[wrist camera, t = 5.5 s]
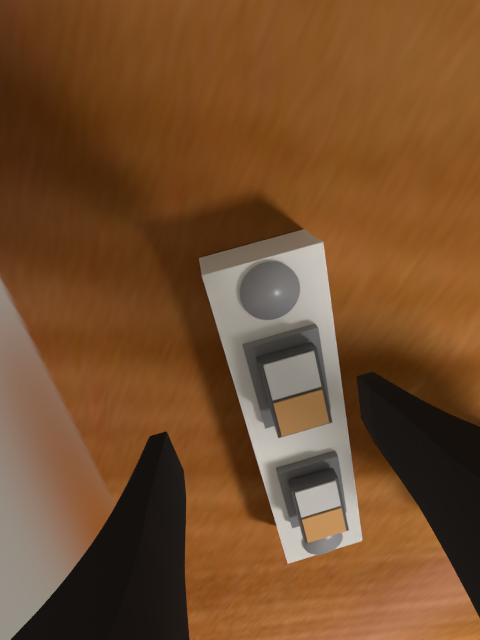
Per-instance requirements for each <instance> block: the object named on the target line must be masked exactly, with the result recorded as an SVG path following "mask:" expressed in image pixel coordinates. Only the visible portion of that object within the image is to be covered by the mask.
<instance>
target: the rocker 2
mask: <svg viewBox="0 0 480 640" xmlns="http://www.w3.org/2000/svg"><path fill="white" fill-rule="evenodd" d="M288 485H289V488H290V492H291V496H292V500H293V503H294V507H295V511H296V515H297V519H298V522H299V526H300V530H301V533H302V536H303V540H304V543H310V542H313V541H316V540H319V539H323V538H326V537H329V536H333V535H336V534H339V533H343V532H346V531H348V530H349V528H348V523H347V518H346V513H345V508H344V503H343V499H342V494H341V489H340V484H339V479H338V476H337V474H336V473H335V471H334V469H333V468H330V469H327V470H323V471H320V472H317V473H313V474H310V475H306V476H303V477H300V478H296V479H293V480H290V481H288Z"/></svg>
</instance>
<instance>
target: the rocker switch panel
mask: <svg viewBox="0 0 480 640" xmlns="http://www.w3.org/2000/svg"><path fill="white" fill-rule="evenodd" d="M199 263H200V269H201V275H202V278H203V282H204V285H205V288H206V292H207V295H208V298H209V302H210V305H211V308H212V312H213V315H214V318H215V322H216V325H217V328H218V332H219V335H220V338H221V342H222V345H223V349H224V352H225V355H226V359H227V362H228V365H229V369H230V372H231V375H232V379H233V382H234V385H235V389H236V392H237V395H238V399H239V402H240V405H241V409H242V412H243V415H244V419H245V422H246V425H247V429H248V432H249V435H250V439H251V442H252V445H253V449H254V452H255V455H256V459H257V462H258V465H259V469H260V472H261V475H262V479H263V482H264V486H265V489H266V492H267V496H268V499H269V502H270V506H271V509H272V512H273V516H274V519H275V522H276V526H277V529H278V532H279V536H280V539H281V542H282V546H283V549H284V552H285V556H286V559H287V562H288V563H291V562H295V561H298V560H301V559H305V558H308V557H311V556H314V555H320V554H325V553H328V552H330V551H332V550H334V549H337V548H341V547H344V546H347V545H351V544H354V543H357V542H360V541H362V533H361V526H360V518H359V511H358V503H357V495H356V488H355V480H354V473H353V465H352V457H351V450H350V442H349V435H348V427H347V419H346V412H345V404H344V397H343V389H342V382H341V374H340V366H339V359H338V351H337V344H336V336H335V328H334V321H333V313H332V306H331V298H330V290H329V283H328V275H327V268H326V260H325V252H324V245H323V242H322V241H321V240H319V239H318V238H316V237H315V236H313V235H312V234H310V233H309V232H307V231H306V230H304V229H303V230H299V231H296V232H292V233H288V234H285V235H281V236H277V237H274V238H270V239H266V240H263V241H259V242H256V243H252V244H248V245H245V246H241V247H237V248H234V249H230V250H226V251H223V252H219V253H215V254H212V255H208V256H205V257H201V258H199ZM309 342H312V343H313V344H314V345H315V346H316V347H317V351H318V356H319V360H320V365H321V370H322V375H323V379H324V384H325V389H326V393H327V398H328V403H329V408H330V412H331V417H332V423H329V424H326V425H322V426H319V427H315V428H312V429H308V430H305V431H302V432H298V433H295V434H291V435H288V436H285V437H281V438H278V436H277V433H276V430H275V427H274V423H273V419H272V416H271V412H270V408H269V404H268V401H267V397H266V393H265V389H264V386H263V382H262V378H261V374H260V371H259V367H258V363H257V359H256V357H259V356H263V355H266V354H270V353H273V352H277V351H280V350H284V349H287V348H291V347H295V346H298V345H302V344H305V343H309ZM330 468H333V469H334V471H335V473H336V474H337V476H338V479H339V484H340V489H341V494H342V499H343V503H344V508H345V513H346V518H347V523H348V528H349V530H348V531H346V532H343V533H339V534H336V535H333V536H329V537H326V538H323V539H319V540H316V541H313V542H310V543H304V540H303V536H302V533H301V530H300V526H299V522H298V519H297V515H296V511H295V507H294V503H293V500H292V496H291V492H290V488H289V485H288V481H290V480H293V479H296V478H300V477H303V476H306V475H310V474H313V473H317V472H320V471H323V470H327V469H330Z"/></svg>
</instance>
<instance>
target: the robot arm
mask: <svg viewBox="0 0 480 640" xmlns="http://www.w3.org/2000/svg"><path fill="white" fill-rule="evenodd" d="M357 383H358V392H359V401H360V411H361V419H362V420H363V422H364V424H365V426H366V428H367V430H368V432H369V434H370V435H371V437H372V439H373V441H374V443H375V444H376V445H377V447H378V448H379V450H380V451H381V453H382V454H383V456H384V457H385V458H386V460H387V461H388V463H389V464H390V465H391V467H392V468H393V470H394V471H395V472H396V474H397V475H398V477H399V478H400V479H401V481H402V482H403V484H404V485H405V486H406V488H407V489H408V491H409V492H410V494H411V495H412V497H413V498H414V500H415V501H416V503H417V504H418V506H419V507H420V509H421V511H422V512H423V514H424V516H425V518H426V519H427V521H428V523H429V525H430V526H431V528H432V530H433V531H434V533H435V535H436V537H437V539H438V540H439V542H440V544H441V546H442V548H443V549H444V551H445V553H446V555H447V557H448V558H449V560H450V562H451V564H452V566H453V568H454V569H455V571H456V573H457V575H458V577H459V579H460V581H461V583H462V585H463V586H464V588H465V590H466V592H467V594H468V596H469V598H470V600H471V602H472V604H473V606H474V608H475V609H476V611H477V613H478V615H479V617H480V427H479V426H476V425H474V424H471V423H469V422H467V421H464V420H462V419H459V418H457V417H455V416H453V415H450V414H448V413H446V412H444V411H442V410H440V409H438V408H436V407H434V406H432V405H430V404H428V403H426V402H424V401H422V400H421V399H419V398H417V397H415V396H413V395H411V394H410V393H408V392H406V391H404V390H403V389H401V388H399V387H398V386H396V385H394V384H392V383H391V382H389V381H387V380H386V379H384V378H382V377H381V376H379V375H377V374H376V373H374V372H370V373H367V374H363V375H360V376H357ZM185 528H186V491H185V480H184V470H183V468H182V466H181V463H180V461H179V459H178V457H177V454H176V452H175V450H174V447H173V445H172V443H171V440H170V438H169V436H168V434H167V431H166V432H163V433H159V434H156V435H152V436H150V437H149V439H148V441H147V443H146V445H145V448H144V450H143V452H142V454H141V457H140V459H139V461H138V463H137V465H136V467H135V469H134V472H133V474H132V476H131V478H130V480H129V482H128V484H127V486H126V488H125V489H124V491H123V493H122V495H121V497H120V499H119V500H118V502H117V504H116V506H115V508H114V509H113V511H112V513H111V515H110V516H109V518H108V520H107V521H106V523H105V525H104V526H103V528H102V529H101V531H100V532H99V534H98V535H97V537H96V538H95V540H94V542H93V543H92V544H91V546H90V547H89V548H88V550H87V551H86V553H85V554H84V555H83V557H82V558H81V559H80V561H79V562H78V563H77V565H76V566H75V567H74V569H73V570H72V571H71V573H70V574H69V575H68V576H67V578H66V579H65V580H64V581H63V582H62V584H61V585H60V586H59V587H58V588H57V590H56V591H55V592H54V593H53V594H52V595H51V597H50V598H49V599H48V600H47V601H46V603H45V604H44V605H43V606H42V607H41V608H40V609H39V611H37V612H36V614H35V615H34V616H33V617H32V618H31V619H30V620H29V621H28V622H27V623H26V624H25V625H24V626H23V627H22V628H21V629H20V630H19V631H18V632H17V633H16V635H15V636H14V637H13V638H12V639H11V640H189V629H188V617H187V603H186V588H185Z"/></svg>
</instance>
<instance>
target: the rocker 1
mask: <svg viewBox="0 0 480 640" xmlns="http://www.w3.org/2000/svg"><path fill="white" fill-rule="evenodd" d="M256 359H257V363H258V367H259V371H260V374H261V378H262V382H263V386H264V389H265V393H266V397H267V401H268V404H269V408H270V412H271V416H272V419H273V423H274V427H275V430H276V433H277V436H278V438H281V437H285V436H288V435H291V434H295V433H298V432H302V431H305V430H308V429H312V428H315V427H319V426H322V425H326V424H329V423H332V417H331V412H330V408H329V403H328V398H327V393H326V389H325V384H324V379H323V375H322V370H321V365H320V360H319V356H318V351H317V347H316V346H315V345H314V344H313V343H312V342H309V343H305V344H302V345H298V346H295V347H291V348H287V349H284V350H280V351H277V352H273V353H270V354H266V355H263V356H259V357H256Z"/></svg>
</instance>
